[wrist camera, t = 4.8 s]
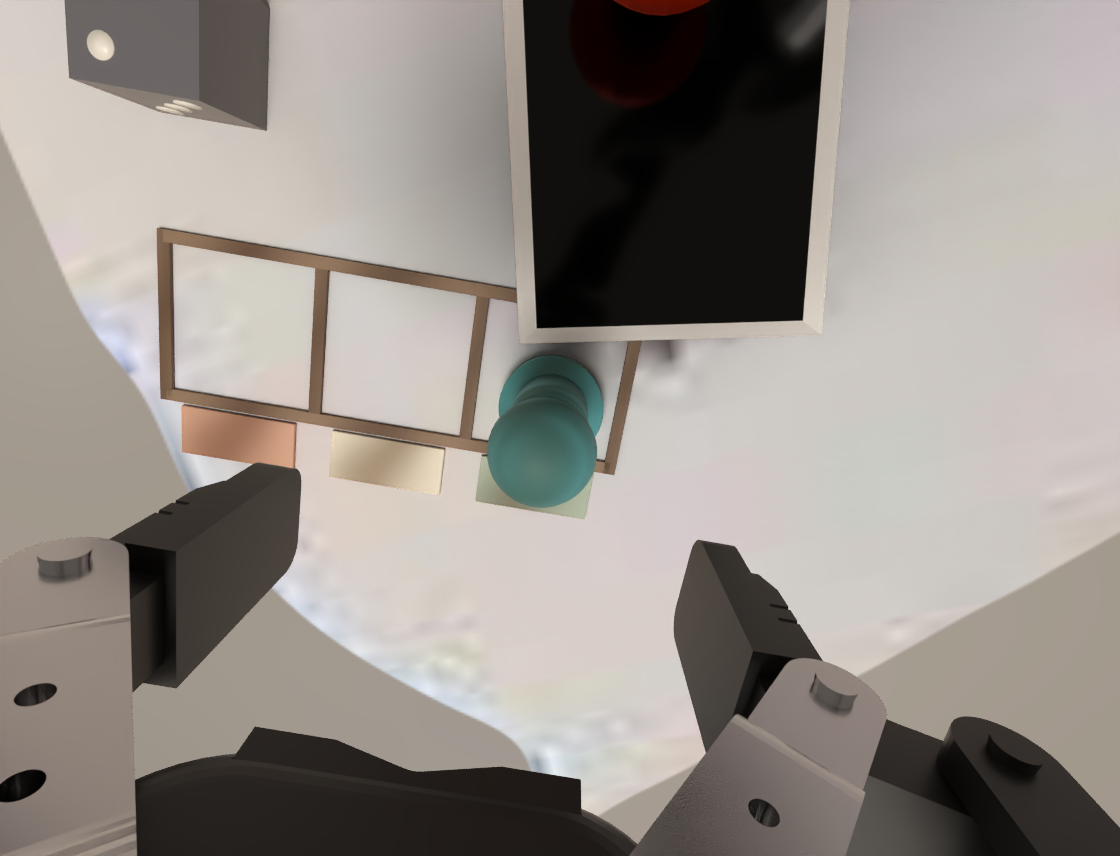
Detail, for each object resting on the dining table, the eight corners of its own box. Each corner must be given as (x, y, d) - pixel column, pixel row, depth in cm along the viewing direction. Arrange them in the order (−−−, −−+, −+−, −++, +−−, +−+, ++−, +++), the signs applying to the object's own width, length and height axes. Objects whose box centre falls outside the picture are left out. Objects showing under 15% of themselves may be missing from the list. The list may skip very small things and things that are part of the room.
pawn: (610, 364, 29) (632, 406, 18) (592, 461, 30) (601, 553, 20) (509, 347, 29) (471, 378, 18) (494, 444, 30) (451, 527, 19)
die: (270, 8, 25) (197, -54, 21) (267, 132, 27) (198, 102, 22) (157, -12, 25) (57, -79, 20) (160, 113, 27) (66, 78, 22)
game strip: (646, 312, 28) (647, 312, 28) (604, 521, 31) (604, 522, 31) (159, 228, 28) (156, 227, 28) (164, 447, 31) (161, 448, 31)
